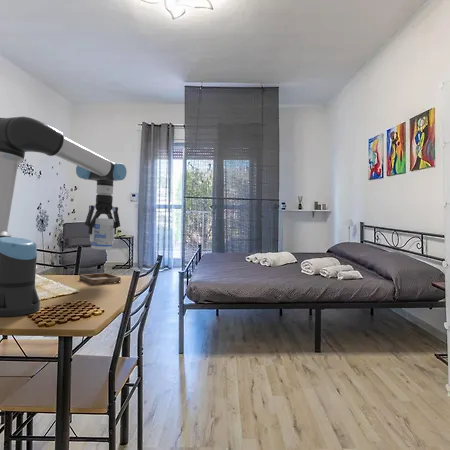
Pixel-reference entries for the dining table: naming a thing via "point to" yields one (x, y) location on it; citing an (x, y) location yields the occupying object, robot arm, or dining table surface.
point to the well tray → (99, 278)
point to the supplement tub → (103, 234)
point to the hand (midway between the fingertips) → (102, 241)
